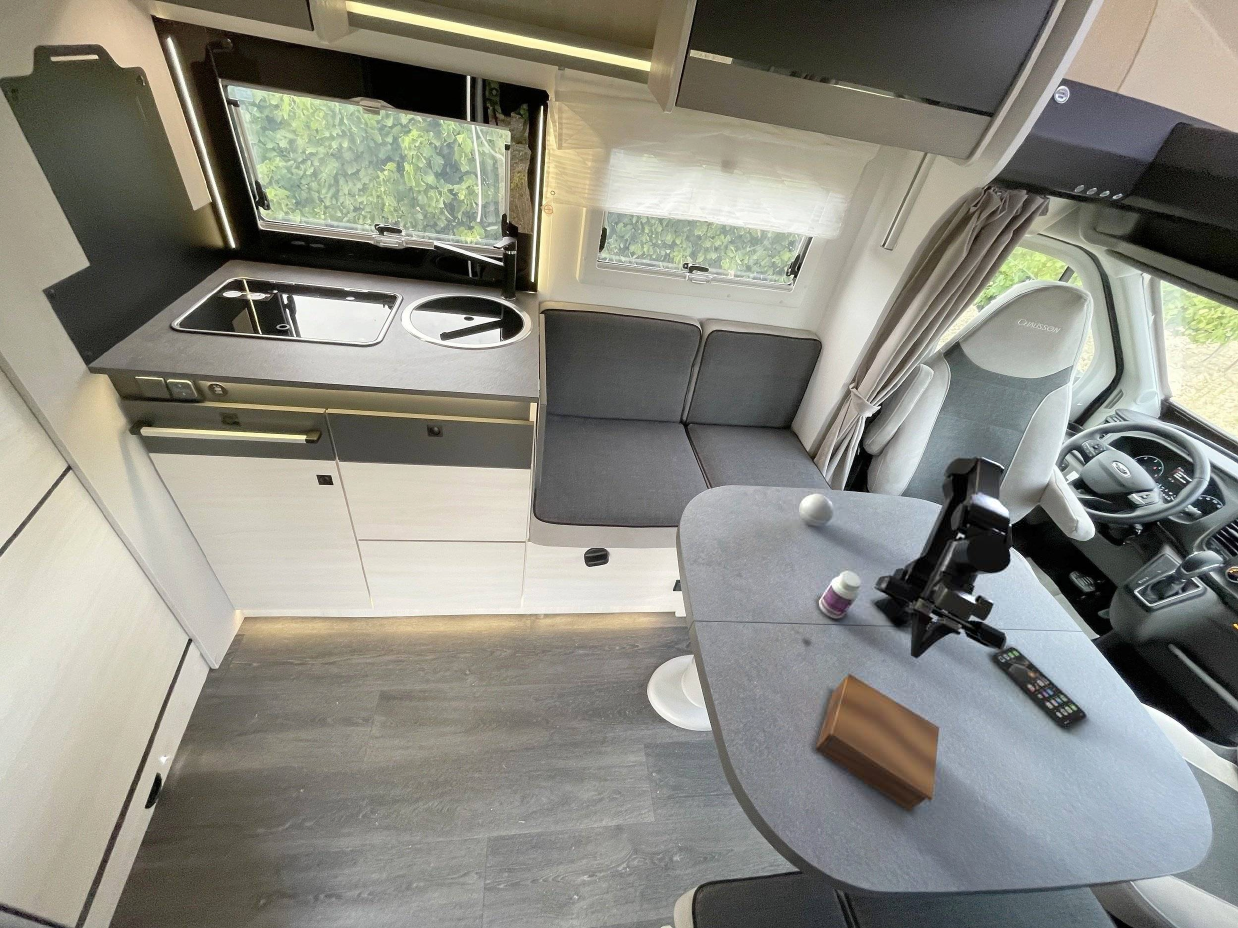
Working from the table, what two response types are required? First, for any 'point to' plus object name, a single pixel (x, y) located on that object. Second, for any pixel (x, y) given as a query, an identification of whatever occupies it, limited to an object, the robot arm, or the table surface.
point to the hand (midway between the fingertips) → (913, 656)
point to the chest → (862, 761)
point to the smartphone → (1039, 687)
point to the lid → (887, 735)
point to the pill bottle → (840, 594)
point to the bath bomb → (816, 510)
